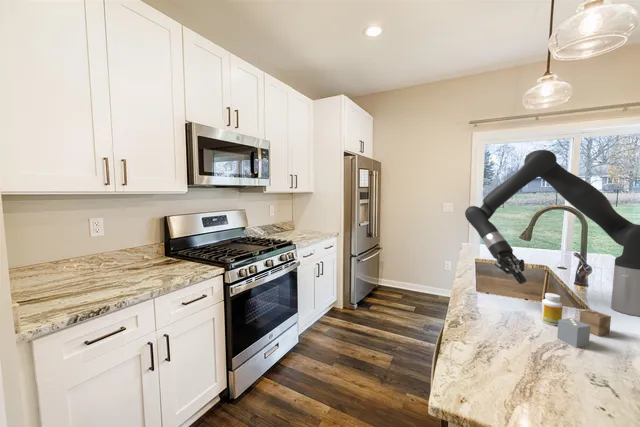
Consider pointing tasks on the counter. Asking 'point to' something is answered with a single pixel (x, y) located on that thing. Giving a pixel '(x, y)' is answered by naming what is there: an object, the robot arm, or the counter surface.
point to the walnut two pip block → (596, 322)
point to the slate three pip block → (573, 332)
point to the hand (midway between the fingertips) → (523, 282)
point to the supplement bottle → (551, 309)
